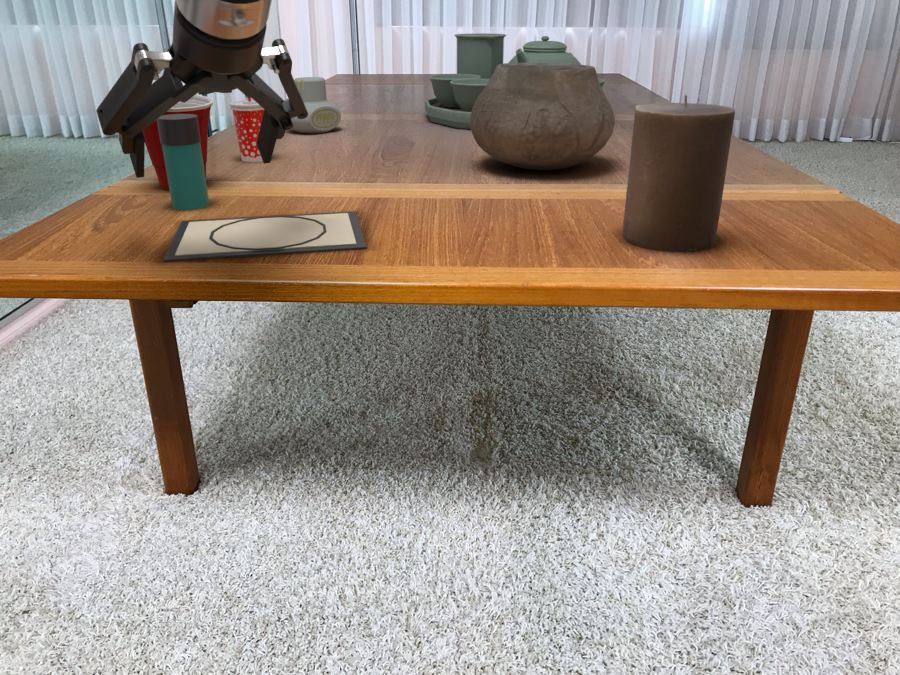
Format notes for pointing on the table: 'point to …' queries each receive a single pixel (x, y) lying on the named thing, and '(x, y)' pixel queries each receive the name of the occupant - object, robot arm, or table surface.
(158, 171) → the plastic cup
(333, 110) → the air freshener
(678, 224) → the pillar candle
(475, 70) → the tea set
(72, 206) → the table surface
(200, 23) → the robot arm
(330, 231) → the drawing board
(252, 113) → the beverage cup
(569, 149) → the clay pot
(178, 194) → the dot marker
